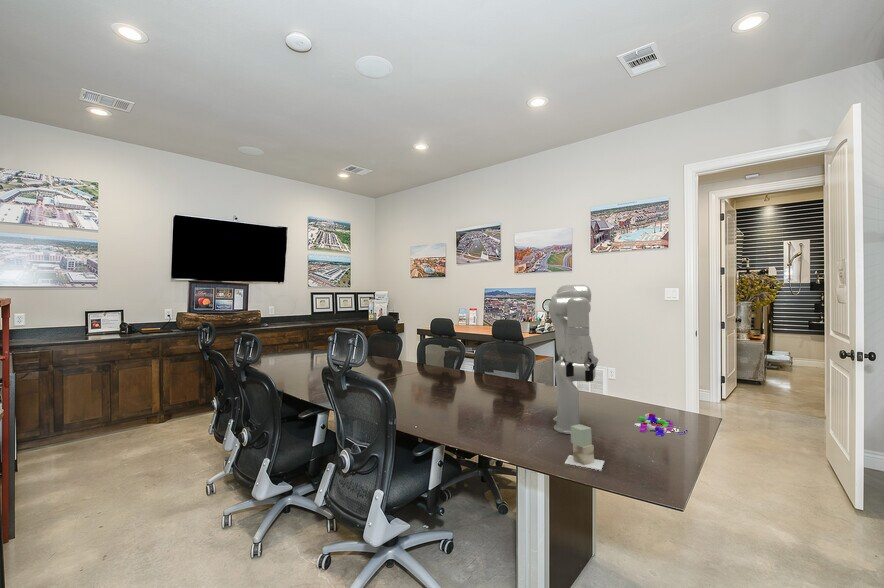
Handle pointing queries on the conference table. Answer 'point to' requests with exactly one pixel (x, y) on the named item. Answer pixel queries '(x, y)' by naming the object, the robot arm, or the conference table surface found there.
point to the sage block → (581, 435)
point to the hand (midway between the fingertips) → (579, 378)
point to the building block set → (649, 422)
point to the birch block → (583, 454)
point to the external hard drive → (595, 465)
